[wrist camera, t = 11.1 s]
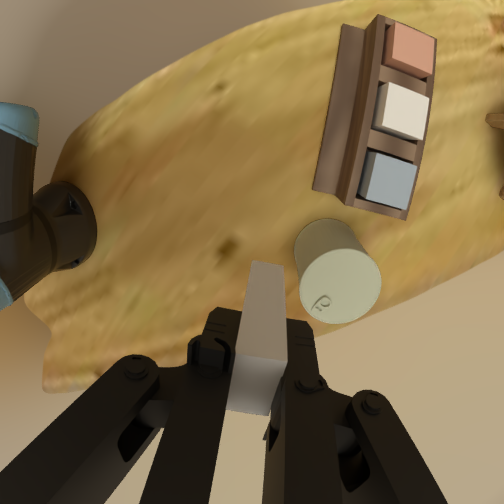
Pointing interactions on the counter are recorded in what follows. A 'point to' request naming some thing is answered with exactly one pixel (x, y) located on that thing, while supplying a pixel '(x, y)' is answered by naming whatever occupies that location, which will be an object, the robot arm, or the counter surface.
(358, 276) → the can
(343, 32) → the brown block holder tray
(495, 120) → the planter
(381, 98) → the key white
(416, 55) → the key terracotta
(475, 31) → the counter surface
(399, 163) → the grey square block
